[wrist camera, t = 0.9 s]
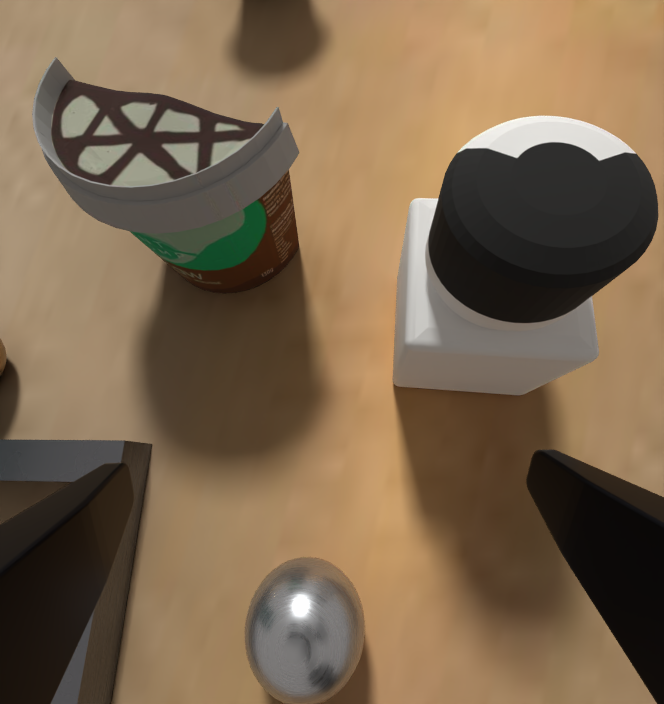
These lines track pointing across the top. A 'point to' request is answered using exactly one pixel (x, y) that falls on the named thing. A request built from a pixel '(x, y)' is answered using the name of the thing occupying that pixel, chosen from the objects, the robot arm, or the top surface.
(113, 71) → the top surface
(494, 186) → the medicine bottle
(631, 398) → the top surface
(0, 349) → the bronze ball
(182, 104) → the food container
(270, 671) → the steel ball
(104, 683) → the grey square frame
